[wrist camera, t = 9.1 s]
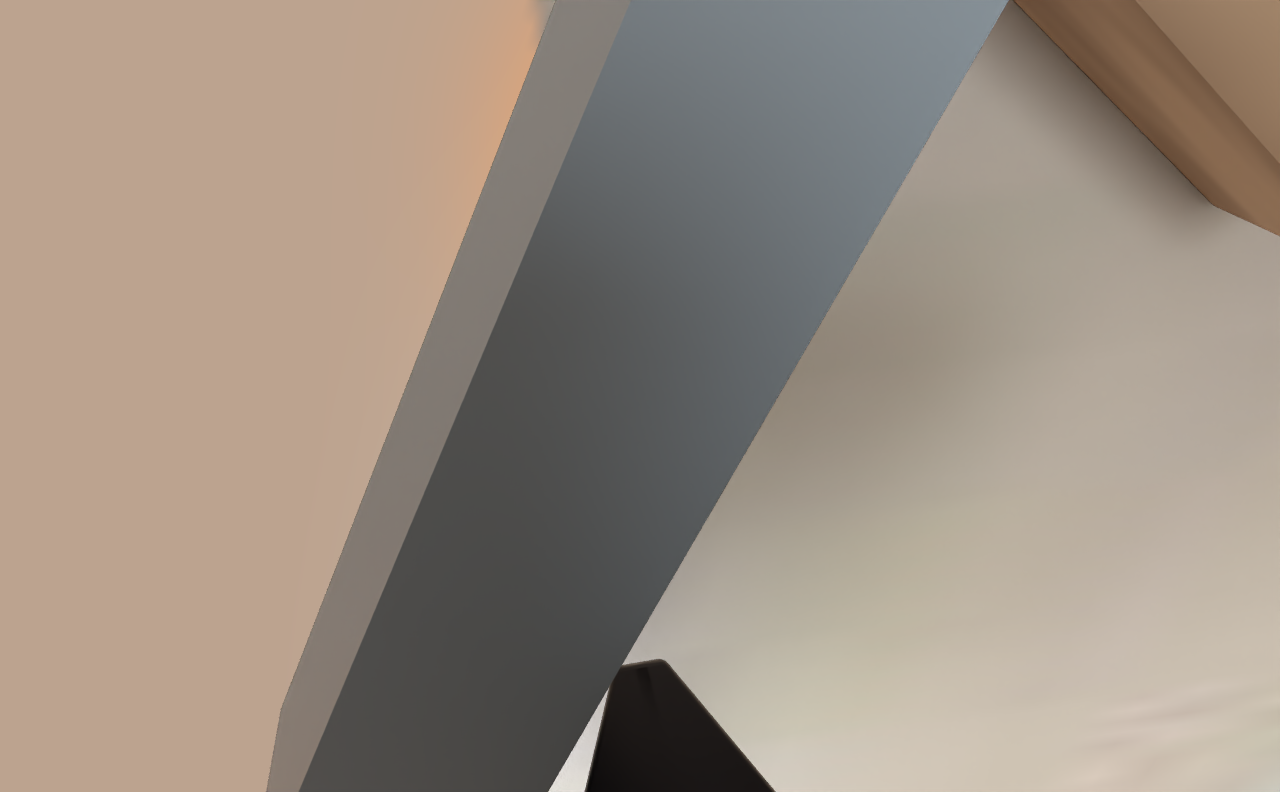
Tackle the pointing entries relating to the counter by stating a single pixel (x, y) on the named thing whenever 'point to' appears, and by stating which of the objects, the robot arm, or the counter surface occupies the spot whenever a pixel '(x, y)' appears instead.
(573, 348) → the latch bar
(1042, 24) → the brown box
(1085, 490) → the counter surface
